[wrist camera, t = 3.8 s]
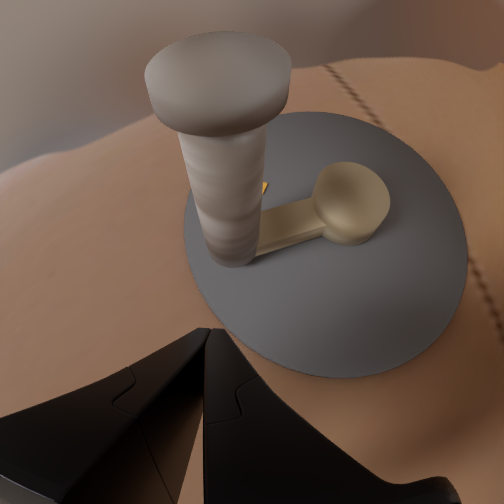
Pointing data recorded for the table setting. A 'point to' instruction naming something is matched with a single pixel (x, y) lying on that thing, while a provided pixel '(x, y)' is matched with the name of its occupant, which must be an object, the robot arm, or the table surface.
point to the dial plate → (341, 259)
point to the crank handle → (250, 149)
